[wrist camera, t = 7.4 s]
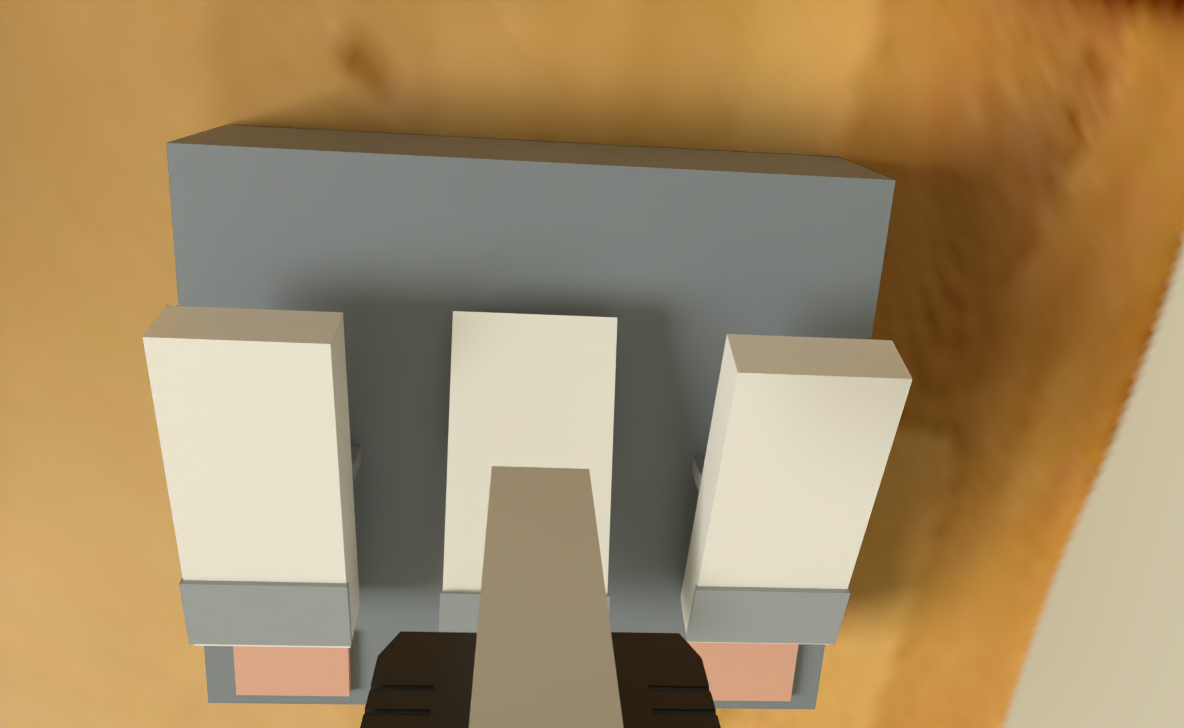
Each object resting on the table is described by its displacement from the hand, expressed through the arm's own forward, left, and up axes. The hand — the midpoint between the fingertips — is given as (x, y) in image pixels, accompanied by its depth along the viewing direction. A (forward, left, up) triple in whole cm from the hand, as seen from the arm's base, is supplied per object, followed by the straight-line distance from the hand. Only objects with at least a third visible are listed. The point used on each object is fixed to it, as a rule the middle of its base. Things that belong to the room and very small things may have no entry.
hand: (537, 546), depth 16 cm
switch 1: (+3, -7, -9) cm, 11 cm away
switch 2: (+3, 0, -9) cm, 9 cm away
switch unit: (+3, 0, -16) cm, 16 cm away
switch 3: (+3, +6, -9) cm, 11 cm away
